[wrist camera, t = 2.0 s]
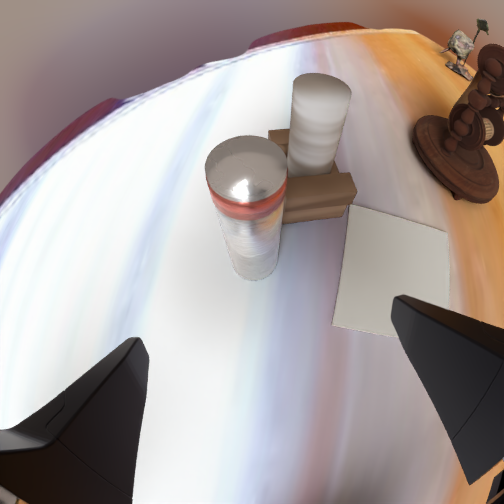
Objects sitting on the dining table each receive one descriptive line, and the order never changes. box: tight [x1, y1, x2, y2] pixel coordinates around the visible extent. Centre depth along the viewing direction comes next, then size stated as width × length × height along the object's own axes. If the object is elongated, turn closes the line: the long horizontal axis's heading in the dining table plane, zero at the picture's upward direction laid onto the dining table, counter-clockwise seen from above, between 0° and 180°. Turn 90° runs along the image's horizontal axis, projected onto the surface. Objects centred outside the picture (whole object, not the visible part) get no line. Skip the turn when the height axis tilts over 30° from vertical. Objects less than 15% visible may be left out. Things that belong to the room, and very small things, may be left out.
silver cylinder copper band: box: [205, 136, 288, 281], centre depth 19 cm, size 4×4×12 cm
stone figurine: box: [440, 19, 489, 81], centre depth 33 cm, size 8×11×20 cm
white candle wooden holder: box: [268, 73, 357, 224], centre depth 21 cm, size 8×6×12 cm
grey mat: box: [331, 204, 450, 338], centre depth 23 cm, size 12×12×1 cm
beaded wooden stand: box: [413, 44, 504, 204], centre depth 19 cm, size 15×15×20 cm
